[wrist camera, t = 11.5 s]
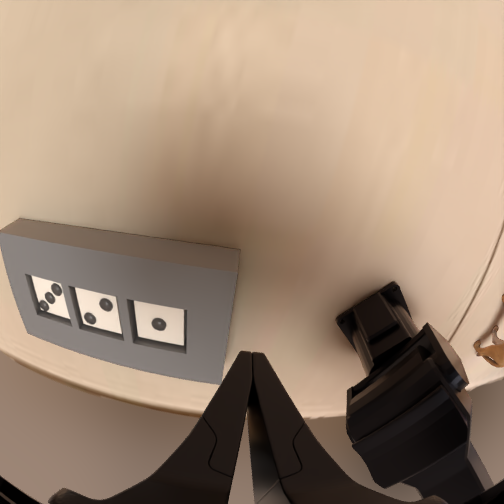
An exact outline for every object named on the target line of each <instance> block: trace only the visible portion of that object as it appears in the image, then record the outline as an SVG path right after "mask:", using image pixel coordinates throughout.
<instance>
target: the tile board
mask: <svg viewBox="0 0 504 504" xmlns="http://www.w3.org/2000/svg"><path fill="white" fill-rule="evenodd" d="M0 247H1V251H2V256H3V260H4V264H5V268H6V272H7V275H8V279H9V282H10V286H11V289H12V292H13V295H14V298H15V301H16V304H17V307H18V310H19V312H20V315H21V318H22V320H23V323H24V325H25V328H26V330H27V333H28V334H30V335H33V336H35V337H38V338H40V339H43V340H45V341H48V342H50V343H53V344H55V345H58V346H61V347H63V348H66V349H69V350H72V351H75V352H78V353H81V354H84V355H87V356H90V357H93V358H96V359H100V360H103V361H107V362H110V363H114V364H117V365H121V366H125V367H129V368H133V369H137V370H141V371H145V372H150V373H154V374H159V375H164V376H169V377H174V378H179V379H185V380H191V381H197V382H203V383H210V384H218V385H221V383H222V376H223V369H224V362H225V355H226V348H227V341H228V335H229V328H230V321H231V314H232V308H233V301H234V295H235V288H236V281H237V275H238V265H239V254H240V250H239V249H232V248H225V247H218V246H211V245H204V244H197V243H190V242H183V241H176V240H169V239H162V238H155V237H148V236H140V235H133V234H126V233H119V232H112V231H105V230H98V229H91V228H84V227H77V226H70V225H63V224H56V223H49V222H41V221H34V220H27V219H20V218H19V219H17V220H16V221H14V222H12V223H11V224H9V225H7V226H6V227H4V228H3V229H1V230H0ZM31 275H32V276H35V277H39V278H42V279H46V280H49V281H53V282H57V283H61V286H62V290H63V294H64V298H65V302H66V306H67V310H68V313H69V317H70V319H68V318H65V317H62V316H59V315H56V314H52V313H50V312H47V311H44V310H41V307H40V305H39V301H38V298H37V294H36V291H35V287H34V284H33V280H32V276H31ZM75 287H76V288H80V289H84V290H89V291H93V292H97V293H101V294H106V295H110V296H115V297H117V300H118V307H119V314H120V320H121V326H122V331H123V333H122V334H120V333H116V332H112V331H108V330H104V329H101V328H97V327H93V326H90V325H86V324H84V323H83V319H82V316H81V312H80V308H79V303H78V299H77V294H76V290H75ZM134 301H139V302H144V303H150V304H155V305H160V306H166V307H172V308H177V309H183V310H187V335H186V339H185V342H184V345H178V344H172V343H167V342H162V341H157V340H152V339H147V338H143V337H138V331H137V323H136V315H135V306H134Z"/></svg>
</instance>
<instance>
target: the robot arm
mask: <svg viewBox="0 0 504 504" xmlns="http://www.w3.org/2000/svg"><path fill="white" fill-rule="evenodd" d="M394 287H395V288H394ZM393 288H394V289H393ZM341 320H343V321H341ZM336 322H337V324H338V326H339V327H340V329H341V330H342V332H343V333H344V334H345V336H346V337H347V339H348V340H349V342H350V343H351V344H352V346H353V347H354V349H355V350H356V352H357V353H358V355H359V357H360V360H361V362H362V365H363V367H364V370H365V373H366V375H367V377H366V378H365V379H363V380H362V381H361V382H359V383H358V384H357V385H355V386H354V387H351V388H349V389H348V390H347V412H346V429H347V434H348V436H349V438H350V440H351V442H352V443H353V444H352V447H353V449H354V450H355V451H356V452H357V453H358V454H359V455H360V456H361V457H362V459H363V460H364V462H365V463H366V465H367V467H368V469H369V471H370V473H371V476H372V478H373V480H374V482H375V483H377V484H378V485H379V486H381V487H382V488H389V487H391V486H393V485H395V484H397V483H402V484H404V485H407V486H410V487H413V488H415V489H416V490H417V491H418V493H419V495H420V496H421V498H422V500H419V501H416V502H404V501H400V500H397V499H394V498H391V497H388V496H386V495H383V494H381V493H378V492H376V491H373V490H371V489H368V488H366V487H364V486H362V485H360V484H358V483H356V482H355V481H353V480H352V479H351V478H350V477H349V476H348V475H347V474H346V473H345V472H344V471H343V470H342V469H341V468H340V467H339V465H338V464H337V463H336V462H335V461H334V460H333V459H332V458H331V456H330V455H329V454H328V453H327V452H326V451H325V449H324V448H323V447H322V446H321V444H320V443H319V442H318V441H317V439H316V438H315V437H314V435H313V433H312V432H311V430H310V429H309V427H308V426H307V424H306V423H305V421H304V419H303V418H302V416H301V414H300V413H299V411H298V410H297V408H296V406H295V405H294V403H293V401H292V400H291V398H290V397H289V395H288V393H287V392H286V390H285V388H284V387H283V385H282V383H281V382H280V380H279V378H278V376H277V375H276V373H275V371H274V370H273V368H272V366H271V365H270V363H269V361H268V359H267V358H266V356H265V354H264V353H260V352H253V353H251V352H249V351H240V352H239V354H238V356H237V358H236V359H235V361H234V363H233V364H232V366H231V368H230V370H229V371H228V373H227V375H226V376H225V378H224V380H223V381H222V383H221V385H220V386H219V388H218V390H217V391H216V393H215V395H214V396H213V398H212V400H211V401H210V403H209V405H208V406H207V408H206V409H205V411H204V413H203V414H202V417H200V419H199V420H198V422H197V424H196V425H195V427H194V428H193V429H192V431H191V433H190V434H189V435H188V436H187V438H186V439H185V440H184V441H183V443H182V444H181V445H180V446H179V447H178V448H177V449H176V450H175V452H174V453H173V454H172V455H171V456H170V457H169V458H168V459H167V460H166V461H165V462H164V463H163V464H162V466H160V467H159V468H158V470H156V471H155V472H154V473H153V474H152V475H151V476H149V477H148V478H147V479H145V480H143V481H141V482H140V483H138V484H136V485H134V486H132V487H131V488H128V489H126V490H124V491H123V492H120V493H118V494H117V495H114V496H112V497H110V498H107V499H103V500H95V499H91V498H88V497H85V496H83V495H81V494H78V493H76V492H74V491H72V490H69V489H66V488H62V489H61V490H59V491H58V492H57V493H55V494H54V495H53V496H52V497H51V498H50V499H49V500H48V503H50V504H228V500H229V495H230V490H231V485H232V480H233V476H234V471H235V466H236V462H237V457H238V451H239V447H240V441H241V437H242V432H243V427H244V422H245V417H246V412H247V422H248V434H249V445H250V458H251V469H252V480H253V491H254V501H255V504H504V479H502V480H501V481H500V482H498V483H497V484H495V485H494V484H493V482H492V480H491V478H490V476H489V474H488V472H487V470H486V468H485V467H484V465H483V463H482V461H481V459H480V457H479V455H478V454H477V452H476V450H475V448H474V447H473V445H472V443H471V441H470V436H471V422H472V420H471V419H472V400H471V398H470V396H469V395H468V393H467V391H466V390H465V387H466V386H467V385H468V384H469V381H468V378H467V375H466V372H465V370H464V367H463V364H462V362H461V359H460V358H459V356H458V355H457V353H456V352H455V350H454V349H453V348H452V346H451V345H450V344H449V342H448V341H447V340H446V339H445V338H444V337H443V336H442V335H441V334H440V333H439V332H438V331H436V330H435V329H434V328H433V327H432V326H431V325H430V324H429V323H428V322H427V323H426V324H425V325H424V326H423V329H422V330H421V331H419V330H418V328H417V327H416V325H415V324H414V322H413V321H412V318H411V315H410V313H409V310H408V307H407V305H406V302H405V300H404V297H403V295H402V292H401V290H400V287H399V285H398V284H397V283H396V282H393V283H391V284H389V285H388V286H386V287H385V288H383V289H382V290H380V291H379V292H377V293H375V294H374V295H372V296H371V297H369V298H368V299H366V300H364V301H363V302H361V303H359V304H358V305H356V306H355V307H353V308H351V309H350V310H348V311H346V312H344V313H343V314H341V315H339V316H338V317H337V318H336ZM0 504H42V503H40V502H39V501H37V500H35V499H33V498H32V497H31V496H29V495H27V494H26V493H24V492H23V491H21V490H20V489H19V488H17V487H15V486H14V485H13V484H11V483H10V482H8V481H7V480H6V479H4V478H3V477H2V476H0Z"/></svg>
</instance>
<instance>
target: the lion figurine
mask: <svg viewBox="0 0 504 504" xmlns="http://www.w3.org/2000/svg"><path fill="white" fill-rule="evenodd" d="M502 301H503V302H504V295H503V296H502ZM497 331H498V326H495V327H494V329H493V330H492V342H493V343H494V344H495V345H490V346H488V347H485V348H480V344H481V342H480V341H476V342H475V344H474V348H475V350H476V351H477V352H478V353H477V356H482V357H483V358H484V359H485V360H486V361H487V362H489V363H490V364H491V365H493V366H495V367H504V341H503V340H501V339H499V338H498V337H497ZM488 356H489V357H491V358H492V359H493V360H492V359H491V358H489V357H488Z"/></svg>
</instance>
